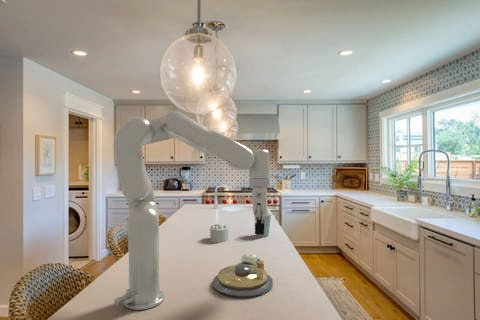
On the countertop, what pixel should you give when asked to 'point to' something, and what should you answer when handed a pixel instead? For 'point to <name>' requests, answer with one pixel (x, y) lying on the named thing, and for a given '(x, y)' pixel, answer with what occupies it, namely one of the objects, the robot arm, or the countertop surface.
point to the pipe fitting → (250, 259)
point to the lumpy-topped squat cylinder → (219, 233)
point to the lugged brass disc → (243, 277)
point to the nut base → (243, 294)
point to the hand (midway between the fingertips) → (259, 231)
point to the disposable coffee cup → (266, 224)
